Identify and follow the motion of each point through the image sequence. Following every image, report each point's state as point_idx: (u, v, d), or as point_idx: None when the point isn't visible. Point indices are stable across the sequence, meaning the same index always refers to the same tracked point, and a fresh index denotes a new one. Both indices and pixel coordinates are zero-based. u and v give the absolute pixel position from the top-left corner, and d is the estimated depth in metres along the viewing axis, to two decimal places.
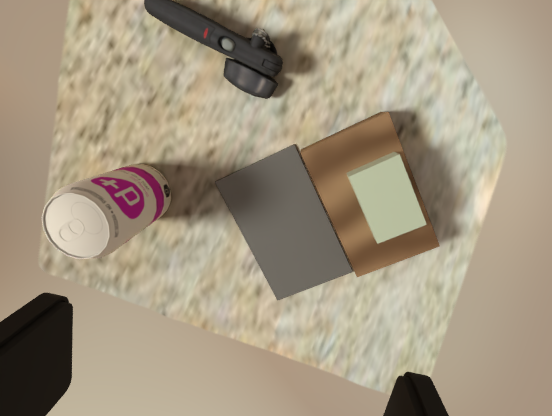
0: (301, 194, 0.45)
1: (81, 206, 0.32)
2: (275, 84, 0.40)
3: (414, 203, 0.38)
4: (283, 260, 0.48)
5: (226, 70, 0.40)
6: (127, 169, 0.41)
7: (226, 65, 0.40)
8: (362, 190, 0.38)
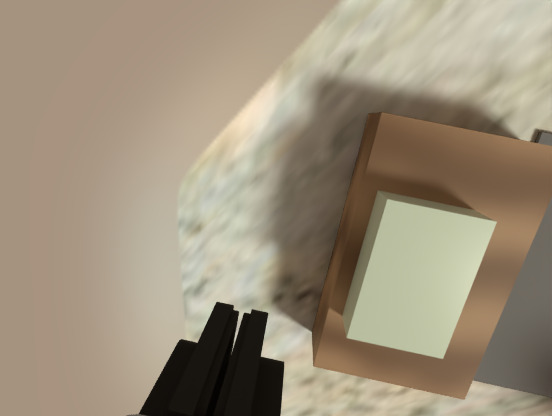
0: None
1: None
2: None
3: (379, 250, 0.19)
4: None
5: None
6: None
7: None
8: (441, 326, 0.20)
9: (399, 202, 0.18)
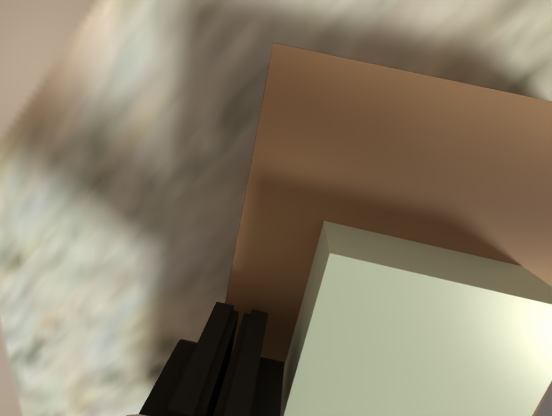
0: None
1: None
2: None
3: (315, 361, 0.08)
4: None
5: None
6: None
7: None
8: None
9: (358, 261, 0.08)
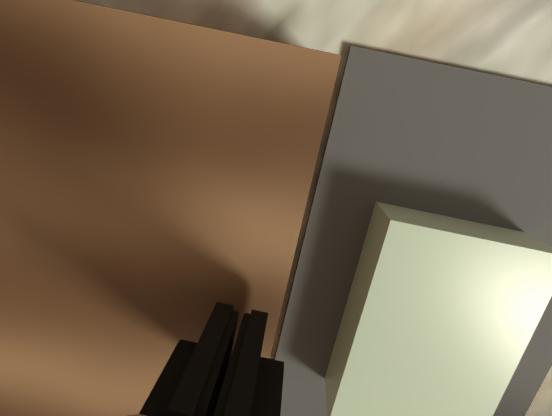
0: (317, 360, 0.16)
1: None
2: None
3: None
4: None
5: None
6: None
7: None
8: None
9: (506, 229, 0.13)
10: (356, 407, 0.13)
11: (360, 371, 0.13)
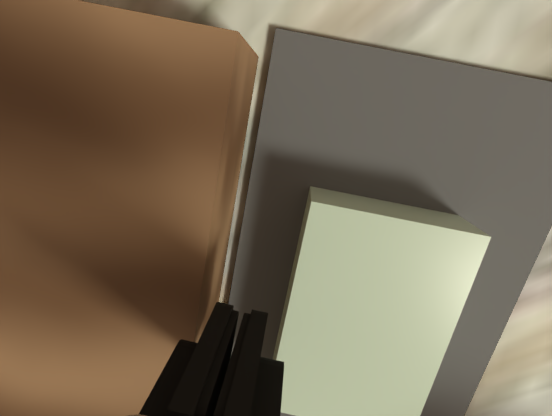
0: (262, 347, 0.16)
1: None
2: None
3: None
4: None
5: None
6: None
7: None
8: None
9: (441, 213, 0.13)
10: (292, 392, 0.13)
11: (293, 355, 0.13)
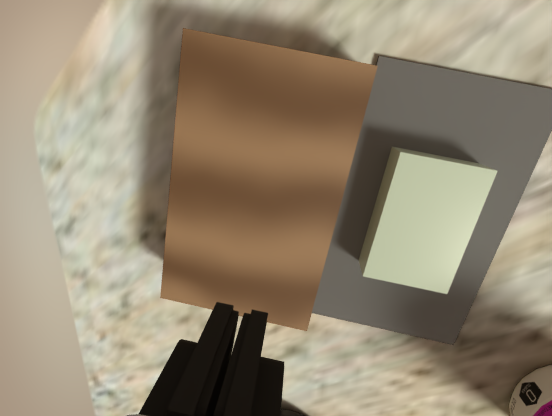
0: (354, 248, 0.26)
1: None
2: None
3: None
4: None
5: None
6: None
7: None
8: None
9: (469, 162, 0.23)
10: (379, 265, 0.23)
11: (382, 242, 0.23)
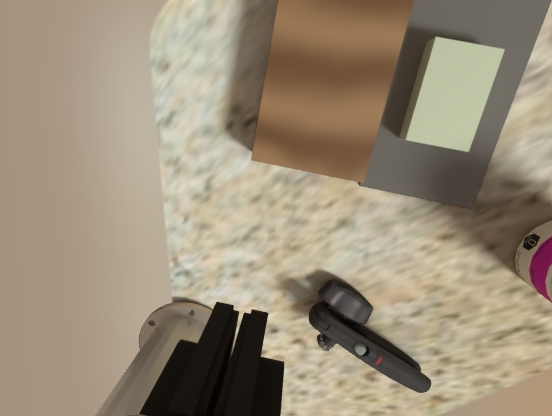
0: (396, 127, 0.33)
1: None
2: (320, 294, 0.38)
3: None
4: None
5: (368, 314, 0.38)
6: (549, 299, 0.32)
7: (367, 318, 0.39)
8: None
9: None
10: (418, 130, 0.31)
11: (421, 110, 0.31)
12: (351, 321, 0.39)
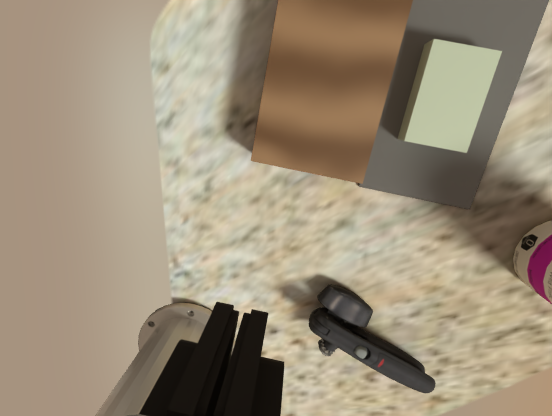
0: (394, 128, 0.34)
1: None
2: (319, 299, 0.38)
3: None
4: None
5: (368, 317, 0.39)
6: (547, 299, 0.33)
7: (367, 321, 0.39)
8: None
9: None
10: (417, 131, 0.31)
11: (419, 111, 0.31)
12: (351, 325, 0.39)
